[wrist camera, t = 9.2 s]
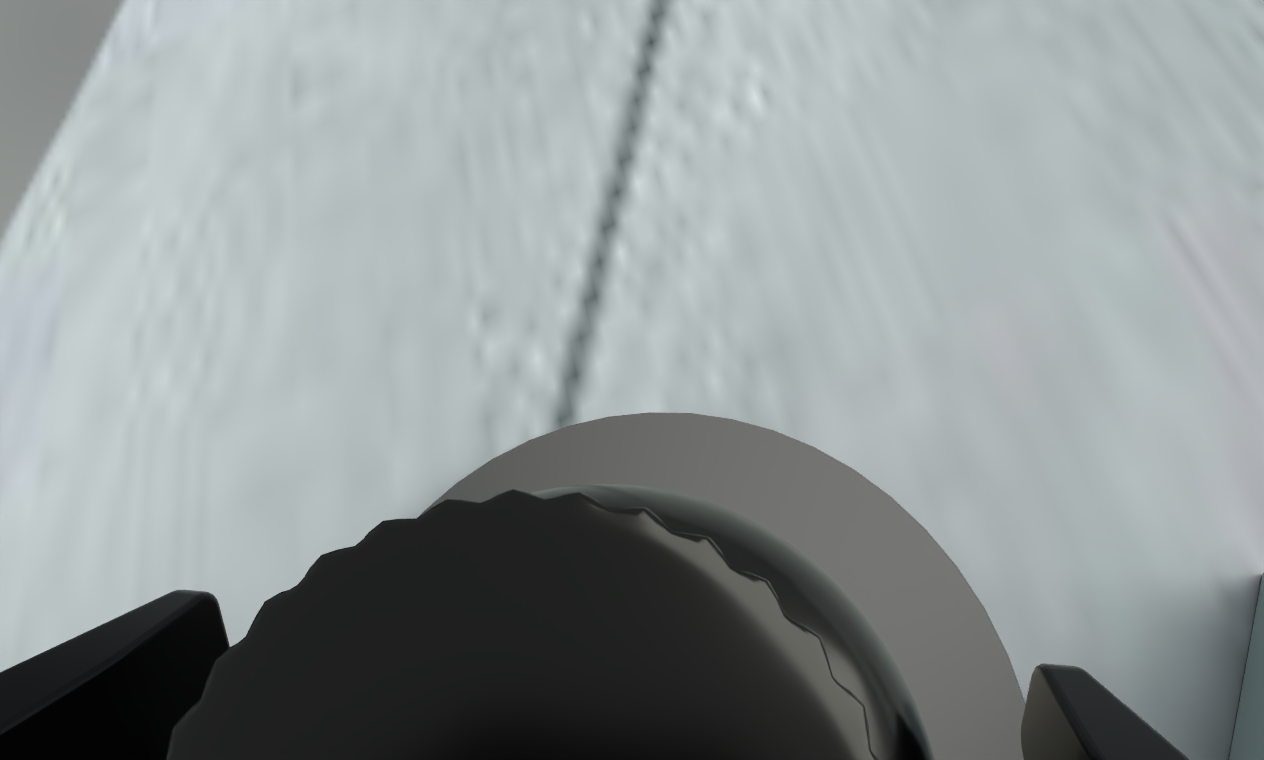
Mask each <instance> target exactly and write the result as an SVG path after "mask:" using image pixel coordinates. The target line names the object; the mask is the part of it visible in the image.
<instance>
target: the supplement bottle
mask: <svg viewBox="0 0 1264 760" xmlns="http://www.w3.org/2000/svg"><path fill="white" fill-rule="evenodd" d="M166 760H935V757H934V754H933V750H932V747H931V744H930V740H929V737H928V734H927V732H926V729H925V726H924V724H923V721H922V719H921V716H920V713H919V711H918V708H917V706H916V703H915V701H914V699H913V697H912V695H911V693H910V691H909V689H908V687H907V685H906V683H905V681H904V679H903V677H902V674H901V672H900V670H899V669H898V667H897V665H896V664H895V662H894V660H893V659H892V657H891V655H890V654H889V652H888V650H887V649H886V647H885V646H884V644H883V642H882V641H881V639H880V638H879V636H878V635H877V633H876V632H875V631H874V629H873V628H872V627H871V625H870V624H869V623H868V621H867V620H866V619H865V617H864V616H863V614H862V613H861V612H860V610H859V609H858V608H857V607H856V606H855V605H854V604H853V603H852V601H851V600H850V599H849V598H848V597H847V596H846V595H845V594H844V592H843V591H842V590H841V589H840V588H839V587H838V586H837V585H836V584H835V583H834V582H833V581H832V580H831V579H830V578H829V577H828V576H827V575H826V574H825V573H824V572H823V571H821V570H820V569H819V568H818V567H817V566H816V565H815V564H814V563H813V562H812V561H810V560H809V559H808V558H806V557H805V556H804V555H803V554H801V553H800V552H799V551H797V550H796V549H795V548H794V547H792V546H791V545H790V544H788V543H787V542H785V541H784V540H782V539H781V538H779V537H778V536H776V535H775V534H773V533H771V532H770V531H768V530H767V529H765V528H764V527H762V526H760V525H758V524H756V523H754V522H753V521H751V520H749V519H747V518H745V517H743V516H741V515H739V514H737V513H735V512H733V511H730V510H728V509H725V508H723V507H720V506H718V505H715V504H713V503H710V502H708V501H705V500H702V499H698V498H695V497H691V496H688V495H685V494H681V493H678V492H673V491H668V490H662V489H657V488H652V487H646V486H635V485H625V484H583V485H574V486H564V487H557V488H552V489H547V490H541V491H536V492H531V493H527V492H523V491H520V490H516V489H511V490H508V491H506V492H503V493H500V494H497V495H496V496H494V497H492V498H491V499H489V500H487V501H484V502H481V503H478V502H472V501H466V500H458V499H446V500H444V501H443V502H441V503H439V504H437V505H436V506H434V507H432V508H431V509H429V510H428V511H426V512H425V513H424V514H422V515H421V516H419V517H418V518H417V519H395V520H387V521H382V522H381V523H380V524H379V525H377V526H376V527H375V528H374V529H372V530H371V531H370V532H369V533H368V534H367V535H366V536H365V538H364V539H363V540H362V541H361V542H359V543H358V544H357V545H356V546H353V547H348V548H343V549H339V550H335V551H332V552H329V553H326V554H323V555H321V556H320V557H319V558H318V560H317V561H316V562H315V563H314V564H313V565H312V566H311V567H310V569H309V570H308V572H307V574H306V575H305V577H304V578H303V579H302V580H301V582H300V583H299V584H298V585H297V586H295V587H293V588H292V589H290V590H287V591H284V592H281V593H279V594H277V595H275V596H274V597H272V598H270V599H268V600H267V601H265V602H264V604H263V606H262V607H261V609H260V610H259V612H258V614H257V615H256V617H255V619H254V621H253V623H252V625H251V627H250V629H249V631H248V633H247V635H246V637H245V638H243V639H242V640H241V641H240V642H239V643H237V644H235V645H233V646H232V647H230V648H229V649H227V650H226V651H225V652H224V653H223V654H221V655H220V656H219V657H218V658H217V659H216V660H215V661H214V664H213V666H212V669H211V671H210V673H209V676H208V678H207V681H206V684H205V687H204V690H203V693H202V696H201V699H200V700H199V701H198V702H197V703H196V704H195V705H194V706H193V707H191V708H190V709H189V710H188V711H187V712H186V713H185V715H184V716H183V717H182V718H181V719H180V720H179V722H178V723H177V724H176V725H175V726H174V727H173V729H172V733H171V737H170V741H169V745H168V750H167V755H166Z"/></svg>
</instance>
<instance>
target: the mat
mask: <svg viewBox="0 0 1264 760" xmlns="http://www.w3.org/2000/svg"><path fill="white" fill-rule="evenodd" d="M583 484H625V485H635V486H646V487H652V488H657V489H662V490H668V491H673V492H678V493H681V494H685V495H688V496H691V497H695V498H698V499H702V500H705V501H708V502H710V503H713V504H715V505H718V506H720V507H723V508H725V509H728V510H730V511H733V512H735V513H737V514H739V515H741V516H743V517H745V518H747V519H749V520H751V521H753V522H754V523H756V524H758V525H760V526H762V527H764V528H765V529H767V530H768V531H770V532H771V533H773V534H775V535H776V536H778V537H779V538H781V539H782V540H784V541H785V542H787V543H788V544H790V545H791V546H792V547H794V548H795V549H796V550H797V551H799V552H800V553H801V554H803V555H804V556H805V557H806V558H808V559H809V560H810V561H812V562H813V563H814V564H815V565H816V566H817V567H818V568H819V569H820V570H821V571H823V572H824V573H825V574H826V575H827V576H828V577H829V578H830V579H831V580H832V581H833V582H834V583H835V584H836V585H837V586H838V587H839V588H840V589H841V590H842V591H843V592H844V594H845V595H846V596H847V597H848V598H849V599H850V600H851V601H852V603H853V604H854V605H855V606H856V607H857V608H858V609H859V610H860V612H861V613H862V614H863V616H864V617H865V619H866V620H867V621H868V623H869V624H870V625H871V627H872V628H873V629H874V631H875V632H876V633H877V635H878V636H879V638H880V639H881V641H882V642H883V644H884V646H885V647H886V649H887V650H888V652H889V654H890V655H891V657H892V659H893V660H894V662H895V664H896V665H897V667H898V669H899V670H900V672H901V674H902V677H903V679H904V681H905V683H906V685H907V687H908V689H909V691H910V693H911V695H912V697H913V699H914V701H915V703H916V706H917V708H918V711H919V713H920V716H921V719H922V721H923V724H924V726H925V729H926V732H927V734H928V737H929V740H930V744H931V747H932V750H933V754H934V757H935V760H1024V758H1023V753H1022V748H1021V733H1020V732H1021V723H1022V718H1023V713H1024V709H1025V701H1024V698H1023V695H1022V693H1021V690H1020V687H1019V684H1018V681H1017V679H1016V676H1015V673H1014V670H1013V668H1012V665H1011V662H1010V659H1009V656H1008V654H1007V652H1006V650H1005V648H1004V646H1003V644H1002V642H1001V640H1000V638H999V636H998V634H997V632H996V630H995V628H994V626H993V624H992V622H991V620H990V618H989V616H988V614H987V612H986V610H985V608H984V607H983V605H982V604H981V602H980V601H979V599H978V598H977V596H976V595H975V593H974V592H973V590H972V589H971V587H970V586H969V584H968V583H967V581H966V579H965V578H964V576H963V575H962V573H961V572H960V570H959V569H958V567H957V566H956V565H955V564H954V562H953V561H952V560H951V559H950V558H949V556H948V555H947V554H946V553H945V552H944V551H943V549H942V548H941V547H940V546H939V545H938V543H937V542H936V541H935V540H934V539H933V537H932V536H931V535H930V534H929V533H928V532H927V530H926V529H925V528H924V527H923V526H922V525H921V524H920V523H918V522H917V521H916V520H915V519H914V518H913V517H912V516H911V515H910V514H909V513H908V512H907V511H906V510H905V509H903V508H902V507H901V506H900V505H899V504H898V503H897V502H896V501H895V500H894V499H893V498H892V497H891V496H889V495H888V494H887V493H885V492H884V491H882V490H881V489H880V488H878V487H877V486H876V485H874V484H873V483H872V482H870V481H869V480H867V479H866V478H865V477H863V476H862V475H861V474H859V473H858V472H857V471H855V470H854V469H852V468H850V467H849V466H847V465H845V464H843V463H841V462H840V461H838V460H836V459H834V458H833V457H831V456H829V455H827V454H825V453H824V452H822V451H820V450H818V449H817V448H815V447H813V446H810V445H808V444H805V443H803V442H800V441H798V440H795V439H793V438H791V437H788V436H786V435H783V434H781V433H778V432H776V431H773V430H770V429H766V428H762V427H759V426H755V425H751V424H748V423H744V422H740V421H737V420H733V419H727V418H720V417H713V416H706V415H699V414H692V413H641V414H631V415H622V416H612V417H606V418H602V419H597V420H593V421H589V422H584V423H580V424H576V425H571V426H567V427H565V428H562V429H559V430H557V431H554V432H551V433H548V434H546V435H543V436H540V437H537V438H535V439H532V440H529V441H527V442H525V443H523V444H521V445H519V446H517V447H516V448H514V449H512V450H510V451H508V452H506V453H504V454H502V455H500V456H498V457H496V458H494V459H492V460H491V461H489V462H488V463H486V464H485V465H483V466H482V467H480V468H479V469H477V470H476V471H474V472H473V473H471V474H470V475H468V476H467V477H465V478H464V479H462V480H461V481H459V482H458V483H456V484H455V485H454V486H453V487H452V488H451V489H449V490H448V491H447V492H446V493H445V494H444V495H442V496H441V497H440V498H439V499H438V500H437V501H435V502H434V503H433V504H432V505H431V506H430V507H429V508H427V509H426V510H425V511H424V512H423V513H422V514H424V513H425V512H426V511H428V510H429V509H431V508H432V507H434V506H436V505H437V504H439V503H441V502H443V501H444V500H446V499H458V500H466V501H472V502H478V503H481V502H484V501H487V500H489V499H491V498H492V497H494V496H496V495H497V494H500V493H503V492H506V491H508V490H511V489H516V490H520V491H523V492H527V493H531V492H536V491H541V490H547V489H552V488H557V487H564V486H574V485H583ZM422 514H421V515H422ZM421 515H420V516H421Z"/></svg>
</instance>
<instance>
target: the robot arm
mask: <svg viewBox="0 0 1264 760" xmlns="http://www.w3.org/2000/svg"><path fill="white" fill-rule="evenodd" d="M229 648H230V646H229V642H228V638H227V634H226V630H225V627H224V623H223V619H222V615H221V611H220V607H219V604H218V601H217V599H216V598H215V597H214V595H213V594H211V593H209V592H204V591H192V590H176V591H173V592H170V593H168V594H166V595H164V596H162V597H160V598H158V599H156V600H153V601H151V602H149V603H147V604H145V605H143V606H141V607H139V608H136V609H134V610H132V611H130V612H128V613H126V614H124V615H122V616H119V617H117V618H115V619H113V620H111V621H109V622H107V623H105V624H102V625H100V626H98V627H96V628H94V629H92V630H90V631H87V632H85V633H83V634H81V635H79V636H77V637H75V638H73V639H70V640H68V641H66V642H64V643H62V644H60V645H58V646H56V647H53V648H51V649H49V650H47V651H45V652H43V653H41V654H39V655H36V656H34V657H32V658H30V659H28V660H26V661H24V662H22V663H19V664H17V665H15V666H13V667H11V668H9V669H7V670H4V671H2V672H0V760H166V755H167V750H168V745H169V741H170V737H171V733H172V729H173V727H174V726H175V725H176V724H177V723H178V722H179V720H180V719H181V718H182V717H183V716H184V715H185V713H186V712H187V711H188V710H189V709H190V708H191V707H193V706H194V705H195V704H196V703H197V702H198V701H199V700H200V699H201V696H202V693H203V690H204V687H205V684H206V681H207V678H208V676H209V673H210V671H211V669H212V666H213V664H214V661H215V660H216V659H217V658H218V657H219V656H220V655H221V654H223V653H224V652H225V651H226V650H227V649H229ZM1020 733H1021V748H1022V753H1023V758H1024V760H1189V759H1188V758H1187V757H1186V756H1185V755H1183V754H1182V753H1181V752H1180V751H1179V750H1178V749H1176V748H1175V747H1174V746H1173V745H1172V744H1171V743H1169V742H1168V741H1167V740H1166V739H1165V738H1164V737H1162V736H1161V735H1160V734H1159V733H1158V732H1157V731H1155V730H1154V729H1153V728H1152V727H1151V726H1150V725H1148V724H1147V723H1146V722H1145V721H1144V720H1143V719H1141V718H1140V717H1139V716H1138V715H1137V714H1135V713H1134V712H1133V711H1132V710H1131V709H1130V708H1128V707H1127V706H1126V705H1125V704H1124V703H1123V702H1121V701H1120V700H1119V699H1118V698H1117V697H1116V696H1114V695H1113V694H1112V693H1111V692H1110V691H1109V690H1107V689H1106V688H1105V687H1104V686H1103V685H1102V684H1100V683H1099V682H1098V681H1097V680H1096V679H1095V678H1093V677H1092V676H1091V675H1090V674H1089V673H1087V672H1086V671H1085V670H1083V669H1081V668H1079V667H1075V666H1066V665H1054V664H1041V665H1039V666H1037V667H1036V668H1035V670H1034V671H1033V674H1032V677H1031V682H1030V686H1029V691H1028V695H1027V700H1026V704H1025V709H1024V713H1023V718H1022V723H1021V732H1020Z"/></svg>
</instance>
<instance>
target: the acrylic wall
mask: <svg viewBox="0 0 1264 760" xmlns="http://www.w3.org/2000/svg"><path fill="white" fill-rule="evenodd" d="M1229 760H1264V573H1263V574H1262V580H1261V585H1260V591H1259V597H1258V602H1257V608H1256V613H1255V619H1254V624H1253V630H1252V635H1251V641H1250V646H1249V652H1248V658H1247V663H1246V669H1245V674H1244V680H1243V685H1242V691H1241V696H1240V702H1239V707H1238V713H1237V718H1236V724H1235V730H1234V735H1233V741H1232V746H1231V752H1230V757H1229Z"/></svg>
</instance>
